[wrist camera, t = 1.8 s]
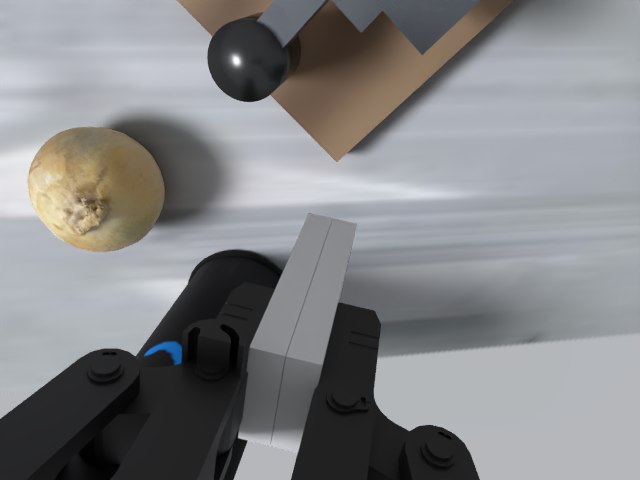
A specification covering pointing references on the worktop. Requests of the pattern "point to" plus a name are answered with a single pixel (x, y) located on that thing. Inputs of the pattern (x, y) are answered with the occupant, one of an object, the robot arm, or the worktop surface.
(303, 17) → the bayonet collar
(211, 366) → the robot arm
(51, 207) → the onion
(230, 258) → the aerosol can
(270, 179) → the worktop surface
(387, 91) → the base
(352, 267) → the worktop surface
